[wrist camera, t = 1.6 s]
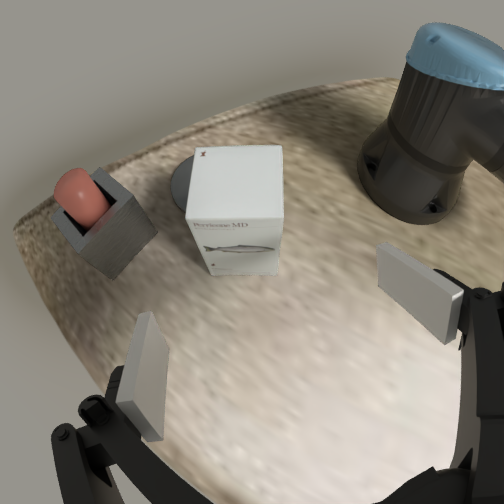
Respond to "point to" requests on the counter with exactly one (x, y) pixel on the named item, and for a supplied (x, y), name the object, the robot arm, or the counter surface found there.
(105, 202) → the button
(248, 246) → the supplement box
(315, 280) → the counter surface
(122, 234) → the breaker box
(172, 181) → the coaster
